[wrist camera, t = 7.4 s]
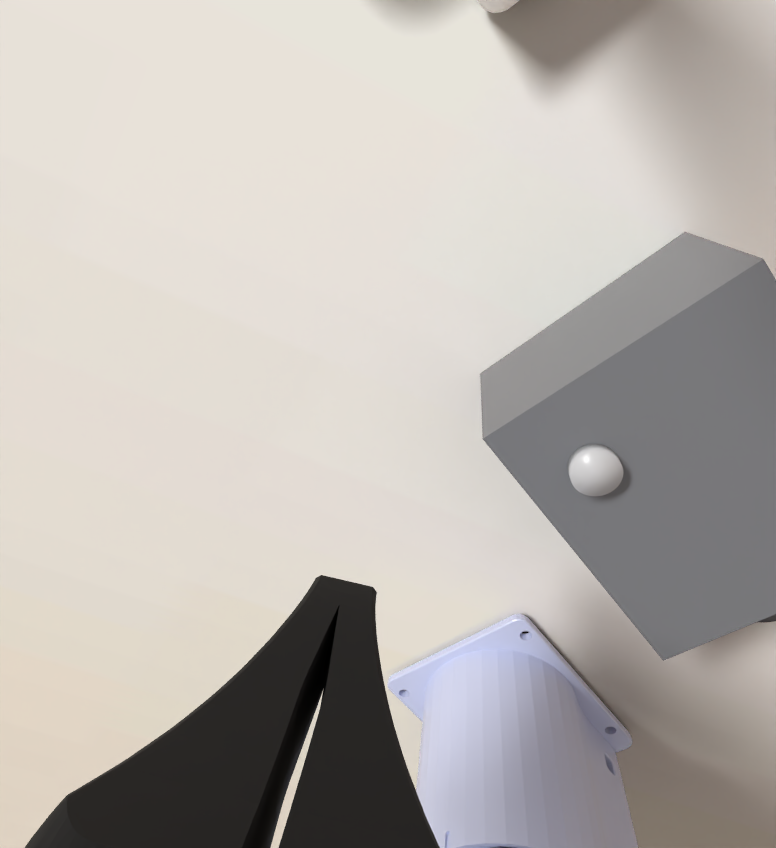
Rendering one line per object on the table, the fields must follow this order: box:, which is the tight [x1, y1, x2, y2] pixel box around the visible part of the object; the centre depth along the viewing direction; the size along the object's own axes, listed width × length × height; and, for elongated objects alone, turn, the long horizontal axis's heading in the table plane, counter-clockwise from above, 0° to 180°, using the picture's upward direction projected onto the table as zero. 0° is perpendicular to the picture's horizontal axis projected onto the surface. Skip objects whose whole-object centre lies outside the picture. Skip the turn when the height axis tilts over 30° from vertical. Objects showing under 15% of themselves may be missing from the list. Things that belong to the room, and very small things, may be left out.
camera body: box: [480, 232, 776, 660], centre depth 19 cm, size 12×8×6 cm
